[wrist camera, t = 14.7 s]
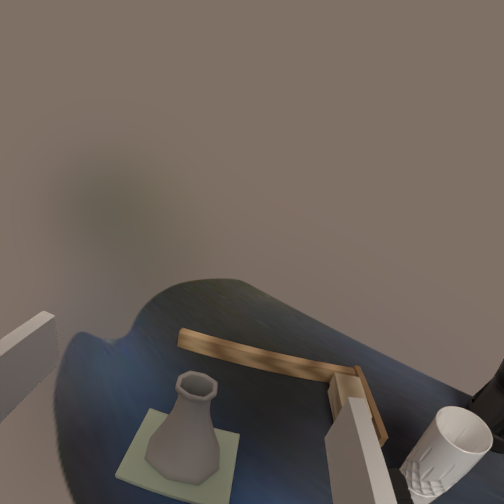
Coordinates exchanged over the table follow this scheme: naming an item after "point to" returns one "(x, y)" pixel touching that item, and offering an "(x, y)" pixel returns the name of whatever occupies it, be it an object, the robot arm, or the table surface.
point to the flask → (187, 433)
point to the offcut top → (346, 390)
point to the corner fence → (277, 365)
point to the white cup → (445, 453)
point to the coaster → (200, 496)
